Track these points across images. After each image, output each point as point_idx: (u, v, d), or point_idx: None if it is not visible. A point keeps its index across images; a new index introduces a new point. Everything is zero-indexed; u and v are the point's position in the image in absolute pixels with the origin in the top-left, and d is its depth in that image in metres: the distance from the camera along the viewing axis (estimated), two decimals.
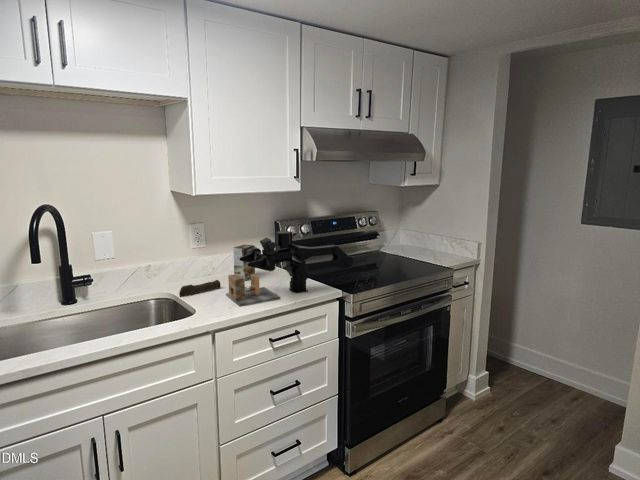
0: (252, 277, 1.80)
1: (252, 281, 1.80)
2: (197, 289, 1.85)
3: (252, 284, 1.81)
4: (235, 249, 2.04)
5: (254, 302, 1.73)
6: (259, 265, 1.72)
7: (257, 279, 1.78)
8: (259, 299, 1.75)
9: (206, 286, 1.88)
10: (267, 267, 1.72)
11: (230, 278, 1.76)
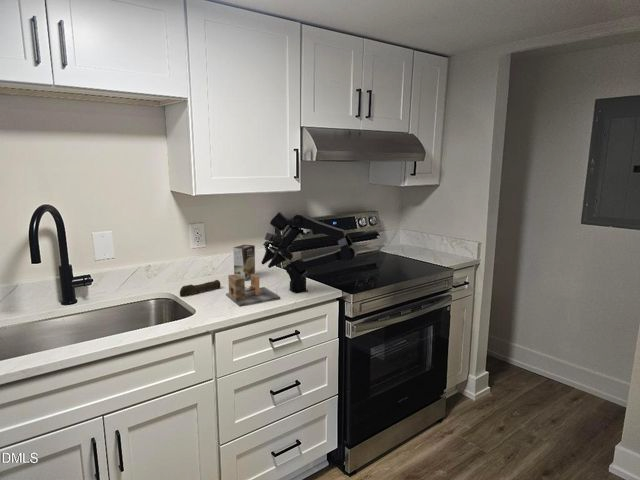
0: (252, 277, 1.80)
1: (252, 281, 1.80)
2: (197, 289, 1.85)
3: (252, 284, 1.81)
4: (235, 249, 2.04)
5: (254, 302, 1.73)
6: (277, 260, 1.79)
7: (257, 279, 1.78)
8: (259, 299, 1.75)
9: (206, 286, 1.88)
10: (284, 258, 1.78)
11: (230, 278, 1.76)
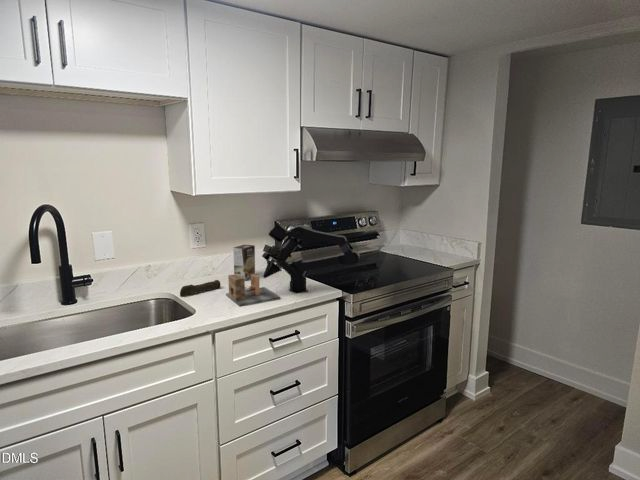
0: (252, 277, 1.80)
1: (252, 281, 1.80)
2: (197, 289, 1.85)
3: (252, 284, 1.81)
4: (235, 249, 2.04)
5: (254, 302, 1.73)
6: (273, 271, 1.83)
7: (257, 279, 1.78)
8: (259, 299, 1.75)
9: (206, 286, 1.88)
10: (279, 268, 1.82)
11: (230, 278, 1.76)
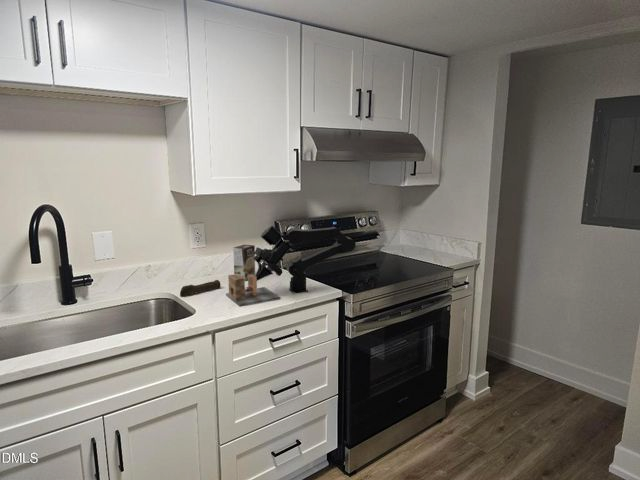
0: (249, 277, 1.79)
1: (249, 281, 1.80)
2: (197, 289, 1.85)
3: (249, 284, 1.80)
4: (235, 249, 2.04)
5: (254, 302, 1.73)
6: (264, 274, 1.81)
7: (254, 279, 1.77)
8: (259, 299, 1.75)
9: (206, 286, 1.88)
10: (271, 271, 1.80)
11: (230, 278, 1.76)
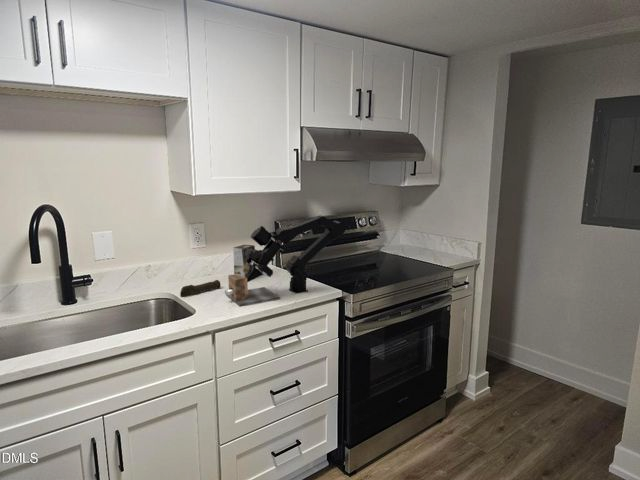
0: None
1: None
2: (197, 289, 1.85)
3: None
4: (235, 249, 2.04)
5: (254, 302, 1.73)
6: (254, 275, 1.78)
7: (245, 281, 1.75)
8: (259, 299, 1.75)
9: (206, 286, 1.88)
10: (261, 272, 1.77)
11: (230, 278, 1.76)
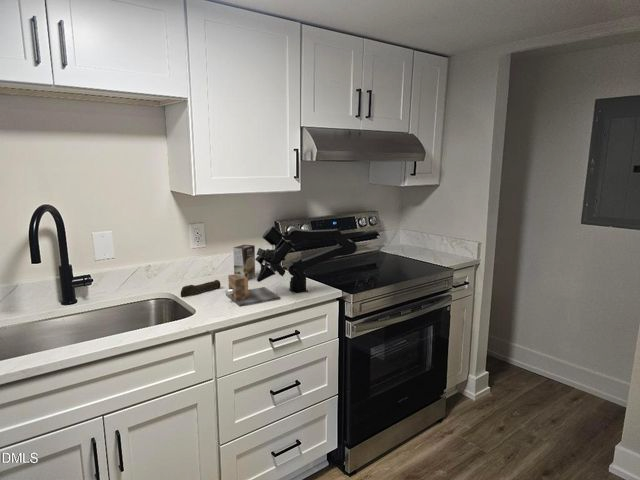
0: None
1: None
2: (197, 289, 1.85)
3: None
4: (235, 249, 2.04)
5: (254, 302, 1.73)
6: (266, 274, 1.81)
7: (245, 281, 1.75)
8: (259, 299, 1.75)
9: (206, 286, 1.88)
10: (273, 272, 1.80)
11: (230, 278, 1.76)
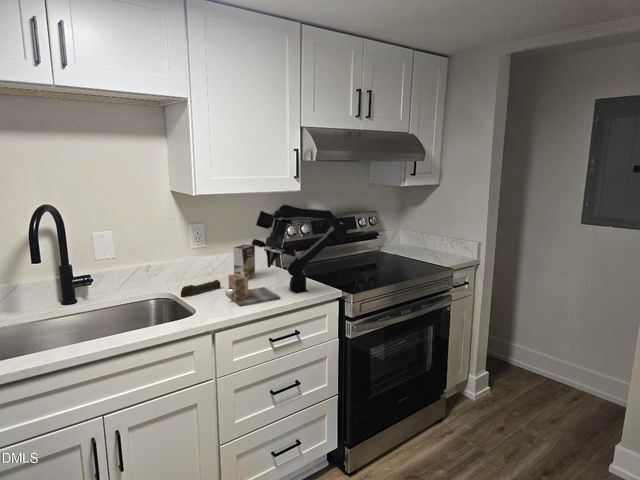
0: None
1: None
2: (198, 289, 1.85)
3: None
4: (235, 249, 2.04)
5: (254, 302, 1.73)
6: (275, 258, 1.83)
7: (245, 281, 1.75)
8: (259, 299, 1.75)
9: (207, 286, 1.88)
10: (281, 254, 1.84)
11: (230, 278, 1.76)
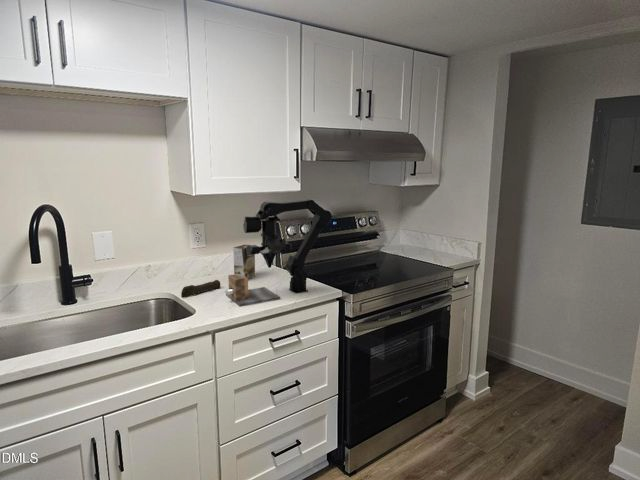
0: None
1: None
2: (198, 289, 1.84)
3: None
4: (235, 249, 2.04)
5: (254, 302, 1.73)
6: None
7: (245, 281, 1.75)
8: (259, 299, 1.75)
9: (207, 286, 1.88)
10: None
11: (230, 278, 1.76)
